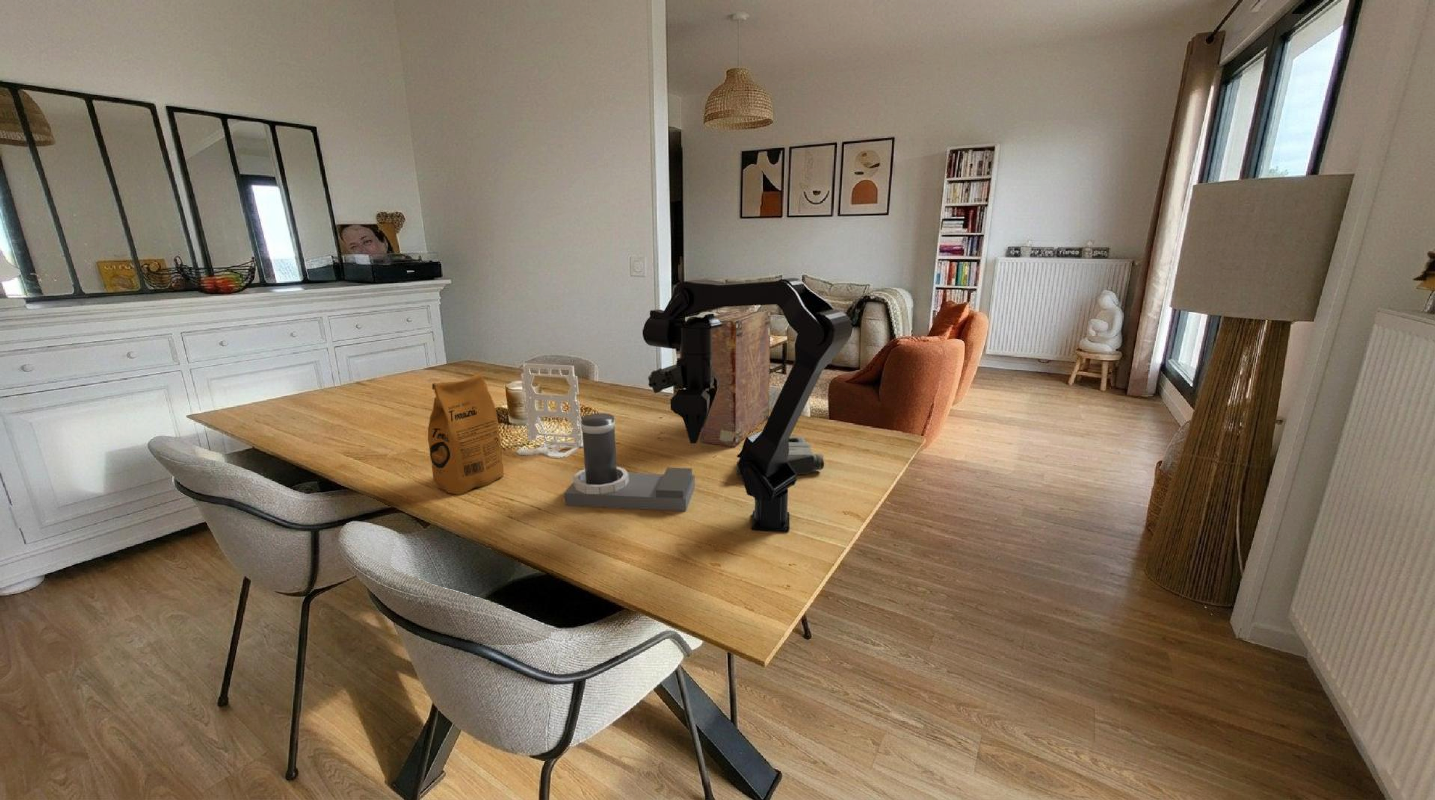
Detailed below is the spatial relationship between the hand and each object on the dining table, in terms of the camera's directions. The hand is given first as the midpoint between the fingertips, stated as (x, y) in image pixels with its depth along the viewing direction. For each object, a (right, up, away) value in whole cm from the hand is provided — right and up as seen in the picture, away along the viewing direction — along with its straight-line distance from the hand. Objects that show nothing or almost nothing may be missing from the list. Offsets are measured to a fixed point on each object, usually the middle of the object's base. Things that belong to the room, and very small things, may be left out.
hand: (697, 434), depth 105 cm
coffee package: (-47, -11, +12) cm, 50 cm away
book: (+9, -1, +43) cm, 44 cm away
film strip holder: (-36, -5, +32) cm, 48 cm away
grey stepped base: (-13, -12, +5) cm, 18 cm away
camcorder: (+17, -8, +20) cm, 28 cm away
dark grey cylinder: (-19, -9, +5) cm, 22 cm away
